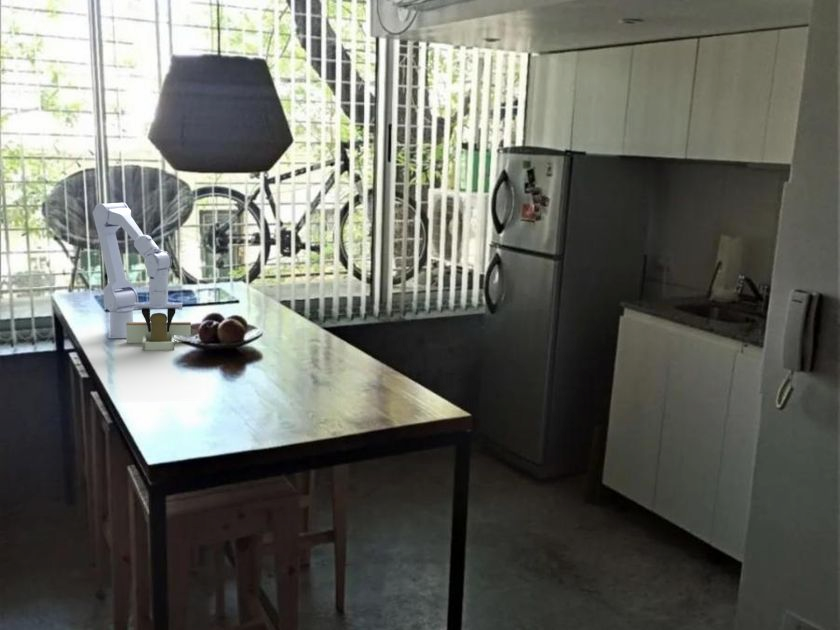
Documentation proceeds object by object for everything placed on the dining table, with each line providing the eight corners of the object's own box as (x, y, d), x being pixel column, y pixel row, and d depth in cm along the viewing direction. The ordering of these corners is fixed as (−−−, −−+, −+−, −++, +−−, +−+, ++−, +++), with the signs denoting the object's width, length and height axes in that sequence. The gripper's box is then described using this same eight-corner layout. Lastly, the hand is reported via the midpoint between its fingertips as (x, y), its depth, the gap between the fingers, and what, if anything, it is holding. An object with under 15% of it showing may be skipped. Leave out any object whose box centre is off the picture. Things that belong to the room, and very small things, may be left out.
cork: (162, 350, 261) (161, 316, 259) (145, 347, 263) (144, 314, 260) (172, 345, 267) (172, 312, 264) (156, 343, 268) (155, 310, 266)
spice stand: (126, 341, 268) (126, 322, 266) (190, 341, 273) (190, 322, 272) (125, 350, 258) (124, 330, 257) (191, 349, 264) (191, 329, 263)
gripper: (133, 292, 256) (134, 334, 259) (182, 292, 260) (182, 334, 263) (134, 287, 262) (135, 328, 265) (182, 288, 266) (182, 328, 269)
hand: (158, 331), depth 264 cm, fingers closed on cork, 5 cm apart
